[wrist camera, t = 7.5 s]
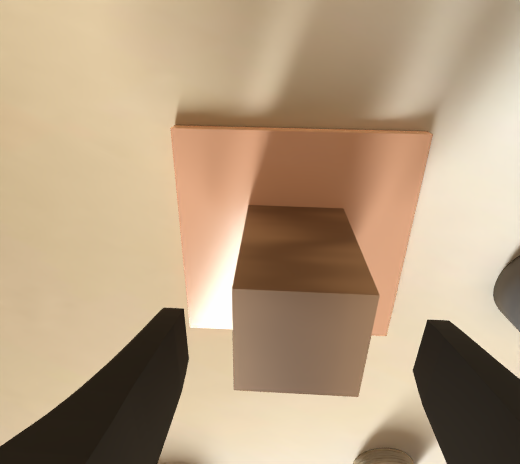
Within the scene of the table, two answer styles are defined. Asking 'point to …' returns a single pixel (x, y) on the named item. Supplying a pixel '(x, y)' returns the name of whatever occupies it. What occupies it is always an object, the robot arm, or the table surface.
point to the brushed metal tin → (383, 457)
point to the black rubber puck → (509, 292)
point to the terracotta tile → (292, 199)
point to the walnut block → (301, 303)
